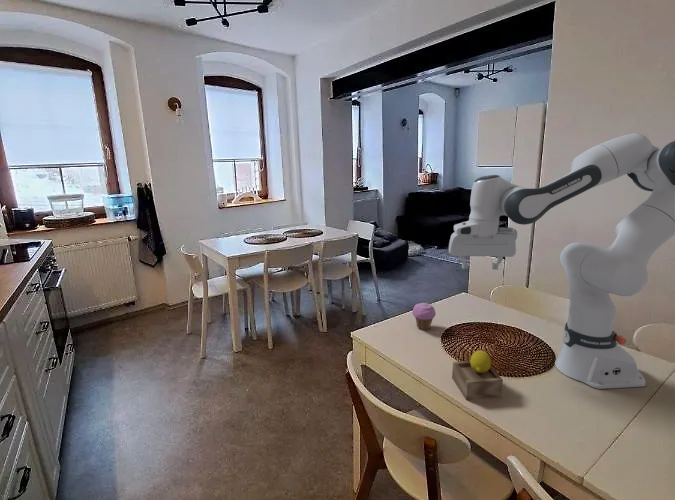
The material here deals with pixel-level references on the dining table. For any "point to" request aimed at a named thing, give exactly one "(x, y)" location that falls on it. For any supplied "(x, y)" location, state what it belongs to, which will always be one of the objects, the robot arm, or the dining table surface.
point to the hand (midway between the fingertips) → (479, 268)
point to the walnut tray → (476, 381)
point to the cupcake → (423, 315)
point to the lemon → (480, 361)
